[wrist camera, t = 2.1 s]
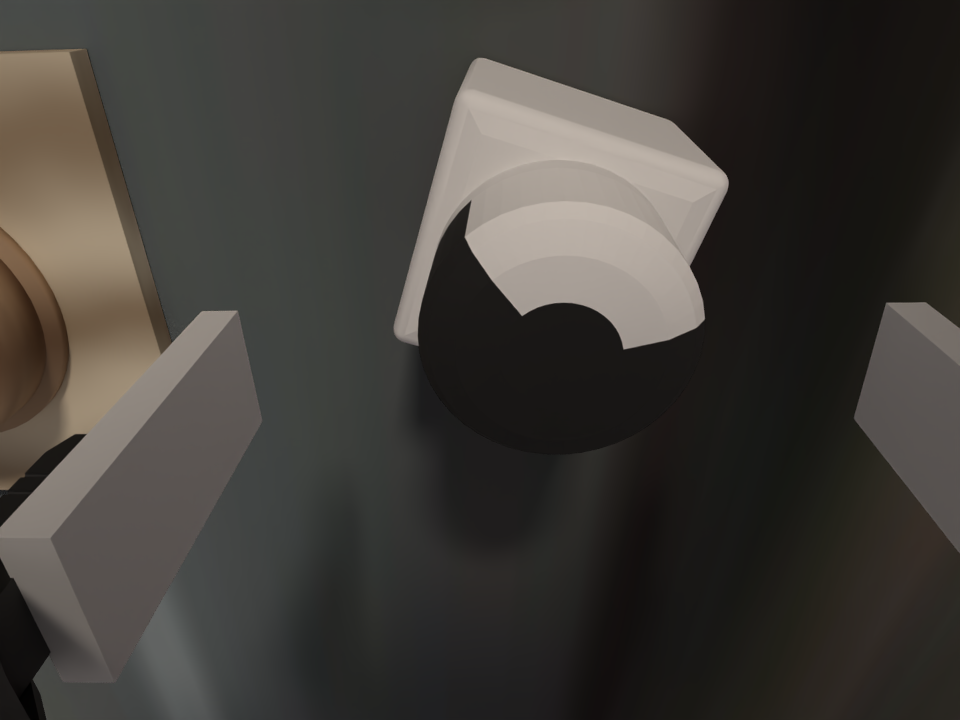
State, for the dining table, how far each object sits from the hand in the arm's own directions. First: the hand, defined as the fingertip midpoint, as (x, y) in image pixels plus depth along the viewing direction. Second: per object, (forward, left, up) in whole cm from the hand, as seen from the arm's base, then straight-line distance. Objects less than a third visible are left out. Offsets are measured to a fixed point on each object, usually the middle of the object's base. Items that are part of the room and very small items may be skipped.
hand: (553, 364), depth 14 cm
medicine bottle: (0, 0, -12) cm, 12 cm away
